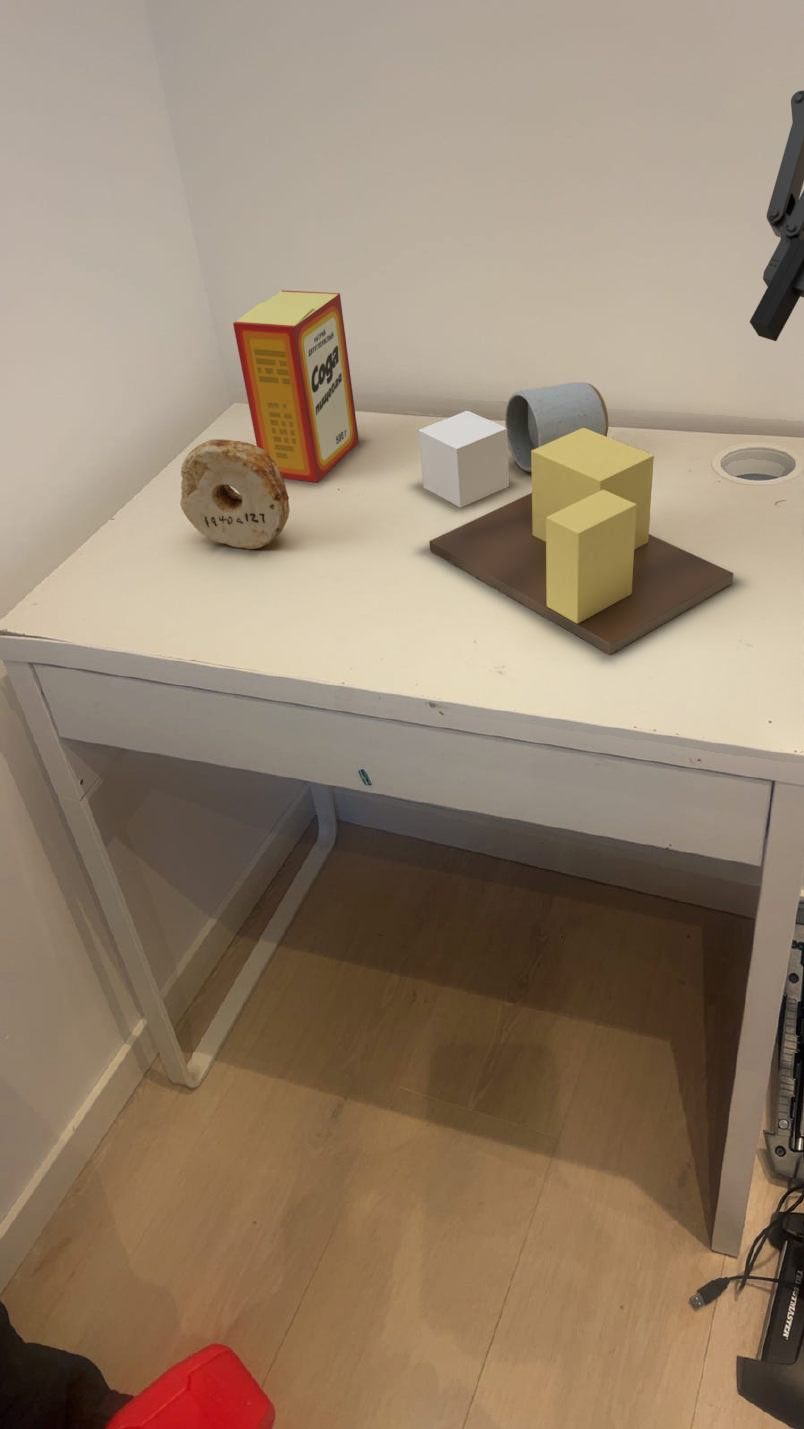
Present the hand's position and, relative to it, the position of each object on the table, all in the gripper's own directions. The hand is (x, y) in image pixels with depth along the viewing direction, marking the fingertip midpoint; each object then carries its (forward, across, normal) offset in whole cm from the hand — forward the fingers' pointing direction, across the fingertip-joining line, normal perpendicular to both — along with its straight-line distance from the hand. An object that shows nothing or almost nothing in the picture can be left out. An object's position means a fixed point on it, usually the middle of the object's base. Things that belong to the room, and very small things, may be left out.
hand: (763, 331), depth 78 cm
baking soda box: (+24, +42, -6) cm, 48 cm away
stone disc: (+33, +34, +6) cm, 48 cm away
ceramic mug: (+13, +21, -16) cm, 30 cm away
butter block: (+19, +7, -5) cm, 21 cm away
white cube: (+20, +24, -9) cm, 32 cm away
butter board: (+22, +6, -3) cm, 23 cm away
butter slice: (+24, +2, +2) cm, 24 cm away
